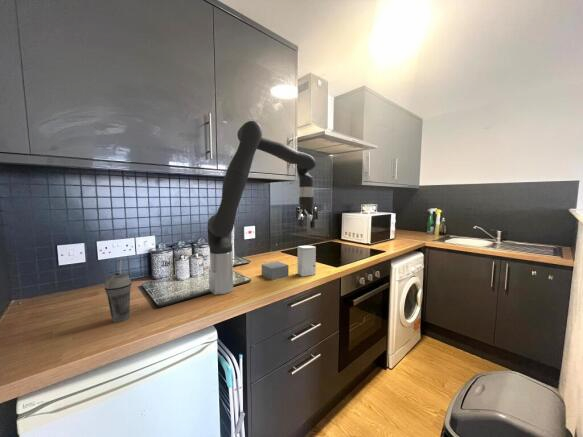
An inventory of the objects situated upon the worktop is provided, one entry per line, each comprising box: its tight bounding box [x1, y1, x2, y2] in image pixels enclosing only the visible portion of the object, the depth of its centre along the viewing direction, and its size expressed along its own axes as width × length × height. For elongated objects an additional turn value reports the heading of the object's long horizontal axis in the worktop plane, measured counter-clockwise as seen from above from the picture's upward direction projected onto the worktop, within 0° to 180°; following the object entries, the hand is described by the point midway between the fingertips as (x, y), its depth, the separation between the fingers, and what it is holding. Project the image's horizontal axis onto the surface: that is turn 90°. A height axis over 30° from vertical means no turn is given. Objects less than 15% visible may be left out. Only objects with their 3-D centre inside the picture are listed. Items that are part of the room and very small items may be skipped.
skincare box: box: [296, 245, 317, 277], centre depth 123 cm, size 8×6×15 cm
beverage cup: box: [104, 259, 133, 323], centre depth 77 cm, size 7×7×20 cm
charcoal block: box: [261, 260, 290, 281], centre depth 121 cm, size 10×10×6 cm
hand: (306, 227), depth 121 cm, fingers open, 8 cm apart
